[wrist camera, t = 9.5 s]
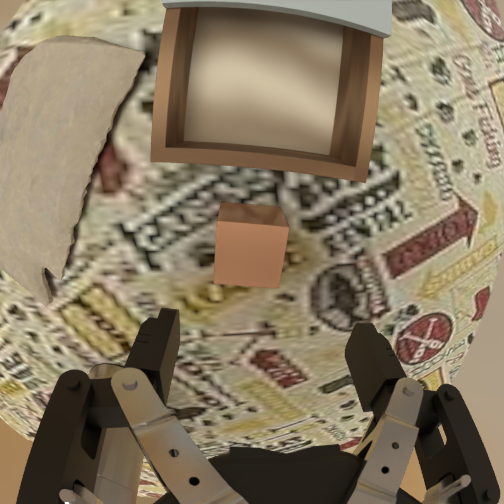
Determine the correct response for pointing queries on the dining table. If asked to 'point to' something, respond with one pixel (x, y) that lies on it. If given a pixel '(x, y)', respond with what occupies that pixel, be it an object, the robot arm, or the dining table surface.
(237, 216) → the cube
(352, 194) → the dining table surface
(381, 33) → the lid
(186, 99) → the brown wooden box
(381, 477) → the robot arm
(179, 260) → the dining table surface
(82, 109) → the stone tool
